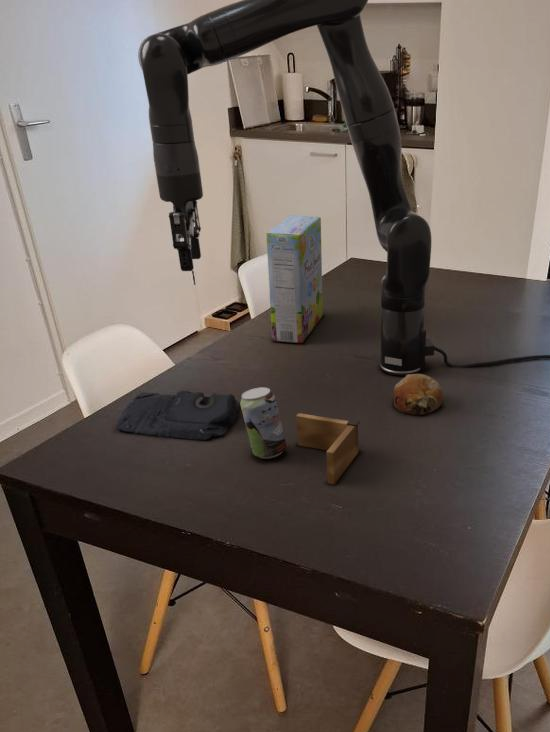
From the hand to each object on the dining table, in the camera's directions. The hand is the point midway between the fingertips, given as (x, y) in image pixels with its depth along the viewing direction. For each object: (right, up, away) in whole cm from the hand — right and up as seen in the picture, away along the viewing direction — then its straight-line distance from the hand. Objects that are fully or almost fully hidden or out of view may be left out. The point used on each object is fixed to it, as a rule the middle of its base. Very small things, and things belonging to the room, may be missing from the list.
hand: (191, 264), depth 129 cm
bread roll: (+43, -25, +9) cm, 51 cm away
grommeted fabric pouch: (-3, -29, +5) cm, 29 cm away
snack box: (+16, -2, +47) cm, 50 cm away
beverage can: (+15, -36, -7) cm, 39 cm away
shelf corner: (+24, -37, -10) cm, 46 cm away
